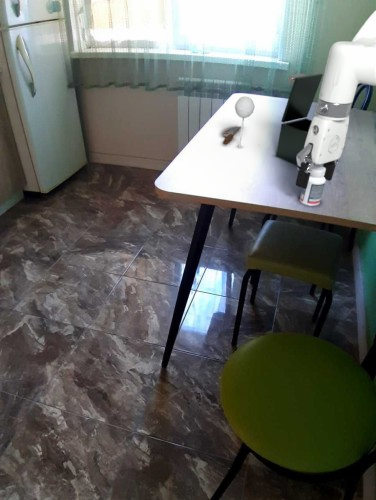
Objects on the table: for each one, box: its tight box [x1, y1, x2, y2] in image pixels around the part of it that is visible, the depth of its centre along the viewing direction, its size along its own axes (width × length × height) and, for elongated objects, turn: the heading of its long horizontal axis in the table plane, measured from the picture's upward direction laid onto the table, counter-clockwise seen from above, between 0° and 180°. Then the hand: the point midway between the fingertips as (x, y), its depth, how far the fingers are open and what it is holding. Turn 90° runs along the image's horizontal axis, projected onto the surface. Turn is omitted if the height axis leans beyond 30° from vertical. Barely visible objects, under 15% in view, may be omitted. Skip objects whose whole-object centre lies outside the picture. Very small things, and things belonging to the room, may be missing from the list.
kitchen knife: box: [222, 126, 241, 145], centre depth 144 cm, size 21×2×5 cm
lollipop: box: [234, 96, 255, 148], centre depth 131 cm, size 6×6×15 cm
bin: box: [275, 117, 316, 166], centre depth 127 cm, size 12×11×10 cm
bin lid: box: [280, 73, 324, 123], centre depth 123 cm, size 12×11×5 cm
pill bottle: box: [299, 165, 327, 207], centre depth 105 cm, size 5×5×9 cm
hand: (313, 182), depth 105 cm, fingers open, 9 cm apart
